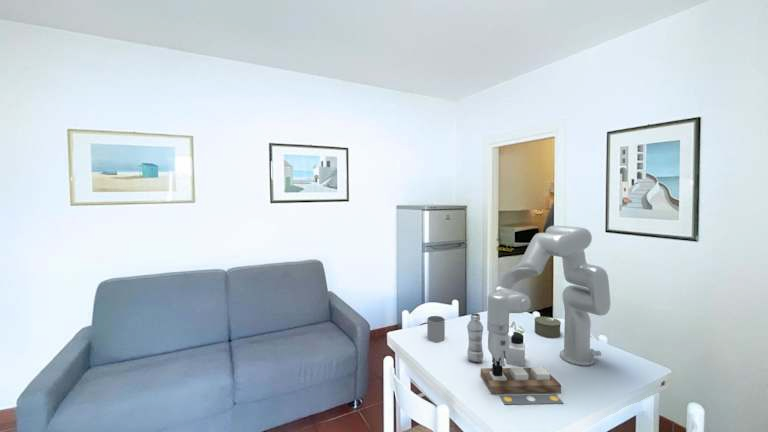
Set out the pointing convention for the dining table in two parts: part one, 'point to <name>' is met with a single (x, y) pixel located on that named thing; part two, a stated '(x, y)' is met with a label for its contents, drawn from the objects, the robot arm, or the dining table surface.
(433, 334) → the cup
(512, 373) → the button middle
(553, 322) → the can
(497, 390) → the button board
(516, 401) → the pattern card
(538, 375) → the button
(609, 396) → the dining table surface
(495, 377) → the button
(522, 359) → the medicine bottle
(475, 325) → the plastic bottle
